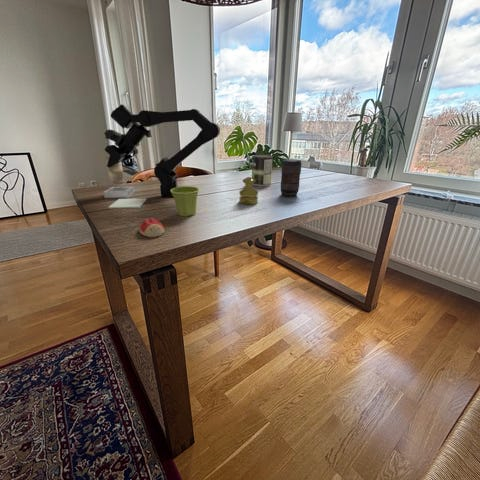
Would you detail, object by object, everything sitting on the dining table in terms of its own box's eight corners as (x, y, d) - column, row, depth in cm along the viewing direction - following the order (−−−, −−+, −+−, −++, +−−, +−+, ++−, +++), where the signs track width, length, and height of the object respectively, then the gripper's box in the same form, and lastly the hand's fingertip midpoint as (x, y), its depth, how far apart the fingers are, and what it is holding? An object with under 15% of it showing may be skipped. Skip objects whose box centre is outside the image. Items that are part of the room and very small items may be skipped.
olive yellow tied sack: (254, 205, 99) (255, 179, 95) (236, 203, 102) (236, 178, 98) (259, 201, 106) (260, 176, 102) (242, 199, 108) (243, 174, 104)
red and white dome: (145, 240, 70) (143, 228, 69) (136, 229, 78) (134, 218, 76) (169, 235, 74) (167, 223, 72) (158, 225, 81) (156, 214, 80)
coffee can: (253, 186, 129) (253, 157, 123) (250, 182, 138) (250, 154, 133) (273, 186, 130) (275, 157, 124) (268, 181, 140) (270, 154, 134)
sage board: (146, 199, 106) (146, 198, 106) (139, 208, 96) (138, 206, 96) (119, 200, 105) (118, 198, 105) (108, 208, 95) (108, 207, 95)
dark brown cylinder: (300, 194, 116) (303, 159, 110) (295, 198, 109) (299, 162, 103) (282, 192, 119) (285, 158, 113) (277, 196, 112) (279, 160, 106)
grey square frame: (134, 192, 118) (133, 186, 116) (127, 197, 109) (126, 191, 108) (113, 192, 117) (112, 186, 116) (104, 198, 108) (103, 192, 107)
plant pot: (194, 219, 85) (193, 193, 82) (168, 217, 87) (165, 191, 84) (204, 210, 94) (202, 187, 90) (179, 208, 96) (177, 185, 92)
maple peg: (126, 181, 113) (122, 155, 109) (122, 184, 108) (117, 157, 104) (113, 181, 113) (108, 155, 108) (108, 184, 108) (102, 157, 103)
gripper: (126, 121, 109) (105, 149, 114) (104, 121, 92) (81, 154, 97) (147, 141, 112) (126, 167, 117) (130, 145, 95) (106, 175, 100)
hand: (111, 165), depth 108 cm, fingers closed on maple peg, 6 cm apart
